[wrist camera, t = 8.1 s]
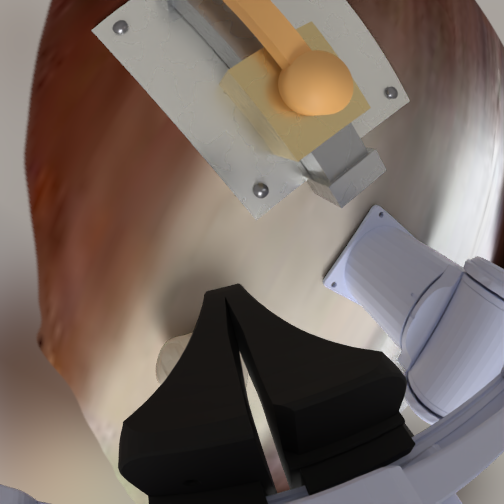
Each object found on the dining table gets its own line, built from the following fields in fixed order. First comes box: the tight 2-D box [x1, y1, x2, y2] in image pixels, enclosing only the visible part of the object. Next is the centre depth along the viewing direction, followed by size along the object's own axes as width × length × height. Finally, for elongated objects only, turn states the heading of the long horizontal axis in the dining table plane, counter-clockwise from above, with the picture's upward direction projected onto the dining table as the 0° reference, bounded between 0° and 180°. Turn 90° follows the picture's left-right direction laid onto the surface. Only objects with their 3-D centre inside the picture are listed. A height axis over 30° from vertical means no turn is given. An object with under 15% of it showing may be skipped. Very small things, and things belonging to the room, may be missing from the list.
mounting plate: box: [91, 0, 410, 220], centre depth 16 cm, size 18×16×1 cm
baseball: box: [156, 333, 248, 387], centre depth 21 cm, size 7×7×7 cm
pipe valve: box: [158, 0, 387, 208], centre depth 15 cm, size 18×6×5 cm, turn 38°
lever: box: [223, 0, 353, 116], centre depth 10 cm, size 12×3×2 cm, turn 37°
